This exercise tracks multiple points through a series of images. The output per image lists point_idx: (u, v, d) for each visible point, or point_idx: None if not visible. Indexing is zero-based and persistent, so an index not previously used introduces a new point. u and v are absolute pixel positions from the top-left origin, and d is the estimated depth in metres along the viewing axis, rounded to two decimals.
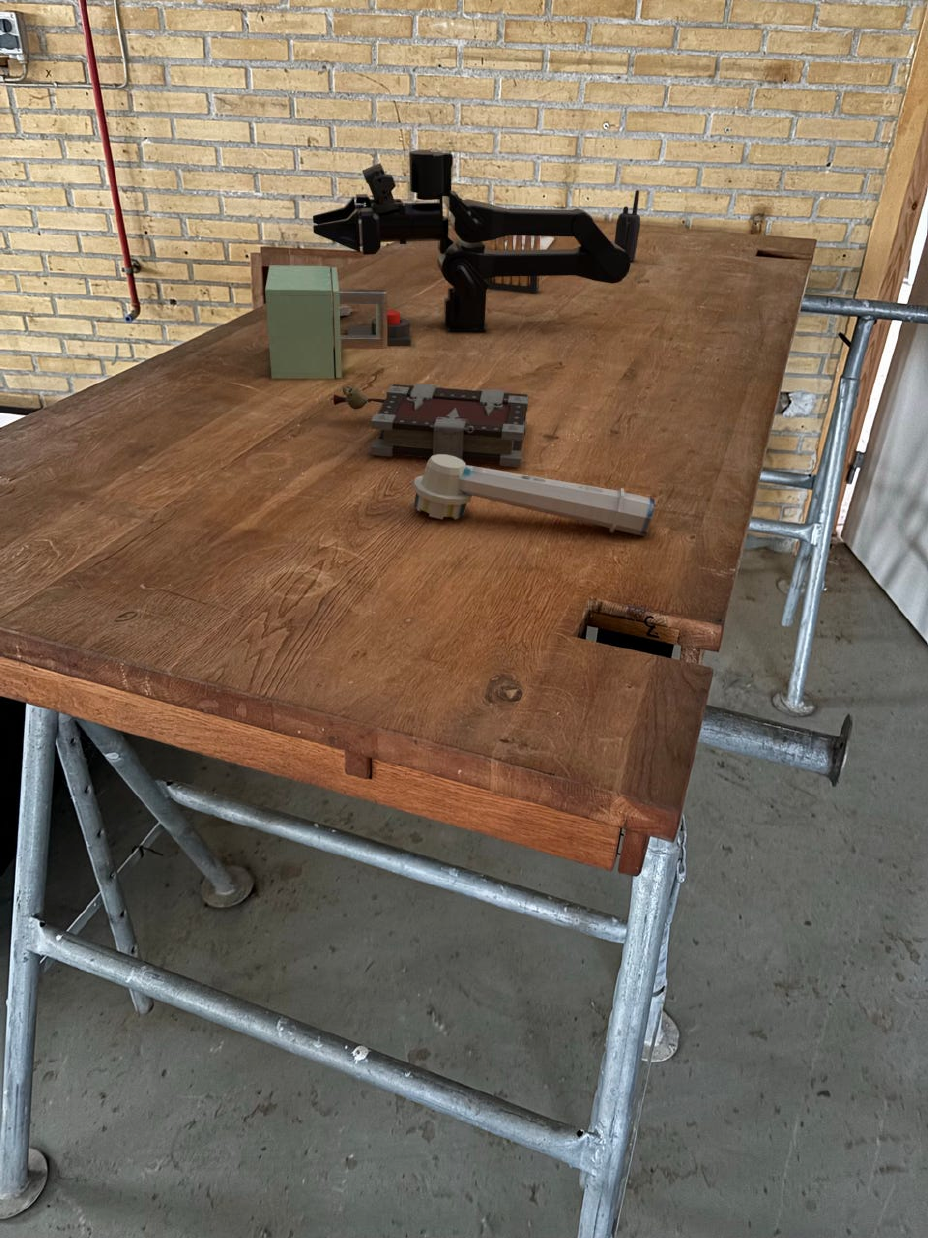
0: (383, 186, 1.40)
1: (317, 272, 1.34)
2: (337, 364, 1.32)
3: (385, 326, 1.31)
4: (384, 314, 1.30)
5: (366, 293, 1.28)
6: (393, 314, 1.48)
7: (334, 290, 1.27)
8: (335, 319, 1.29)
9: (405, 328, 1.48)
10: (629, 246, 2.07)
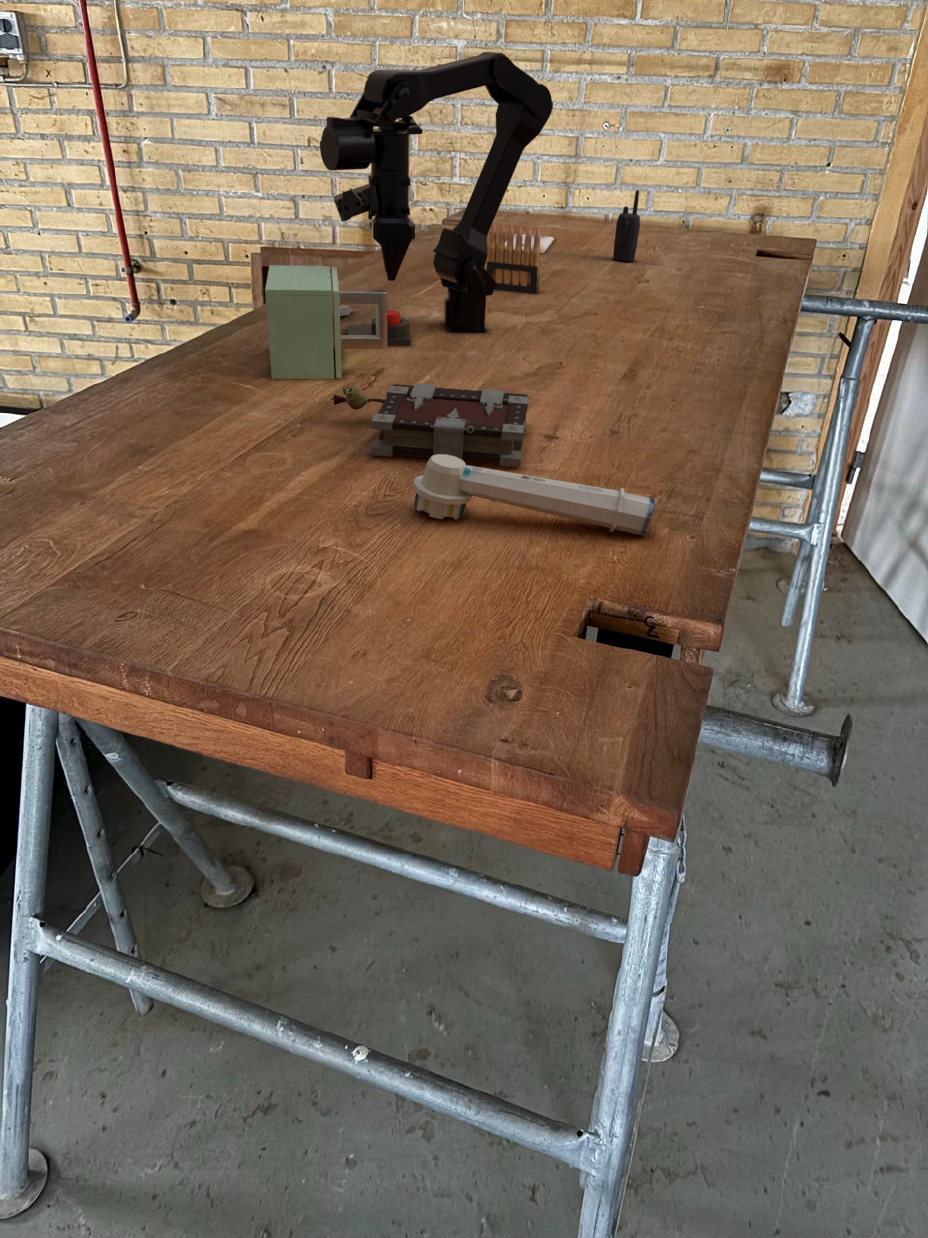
0: (352, 203, 1.35)
1: (317, 272, 1.34)
2: (337, 364, 1.32)
3: (385, 326, 1.31)
4: (384, 314, 1.30)
5: (366, 293, 1.28)
6: (393, 314, 1.48)
7: (334, 290, 1.27)
8: (335, 319, 1.29)
9: (405, 328, 1.48)
10: (629, 246, 2.07)
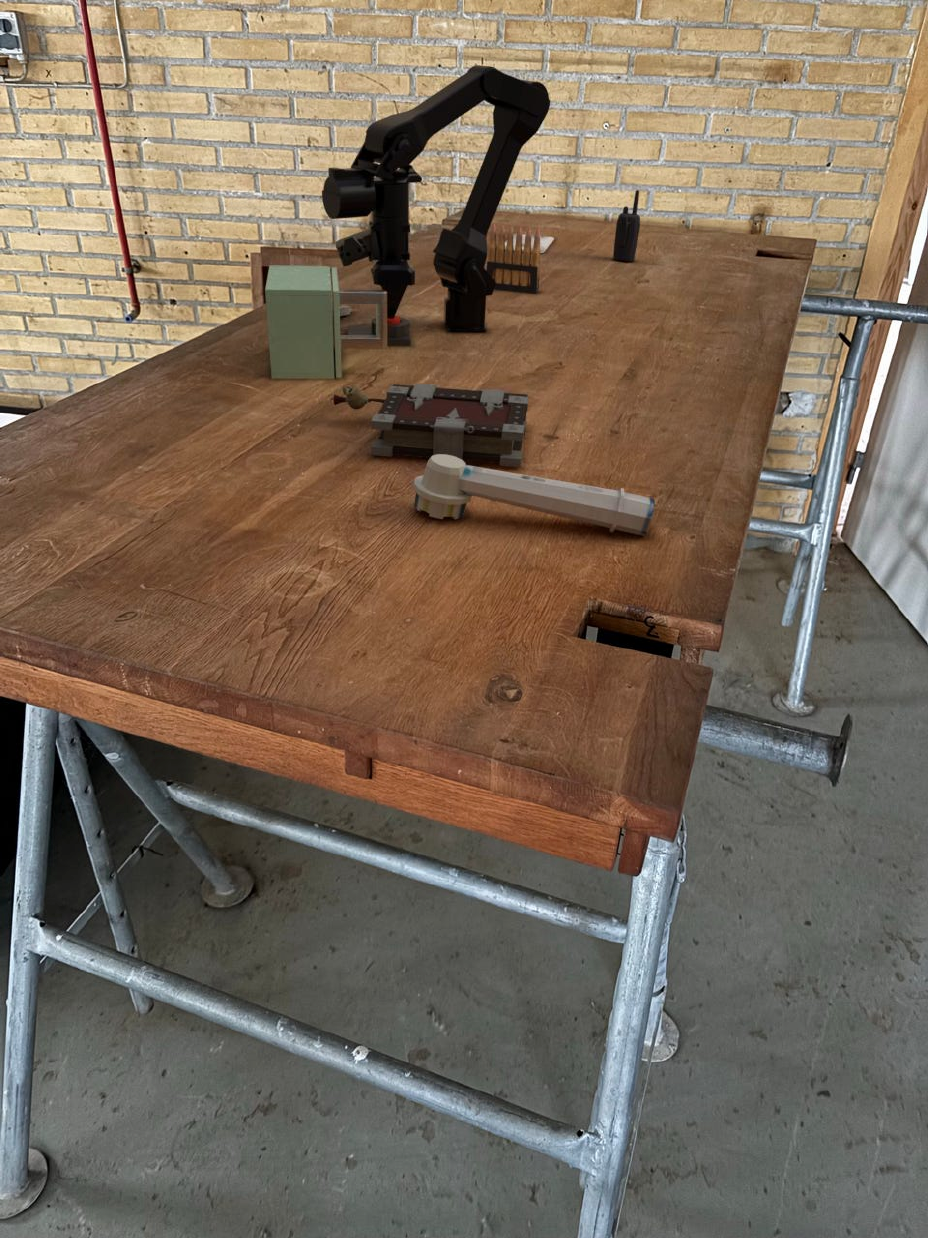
0: (353, 250, 1.38)
1: (317, 272, 1.34)
2: (337, 364, 1.32)
3: (385, 326, 1.31)
4: (384, 314, 1.30)
5: (366, 293, 1.28)
6: (393, 319, 1.48)
7: (334, 290, 1.27)
8: (335, 319, 1.29)
9: (405, 328, 1.48)
10: (629, 246, 2.07)
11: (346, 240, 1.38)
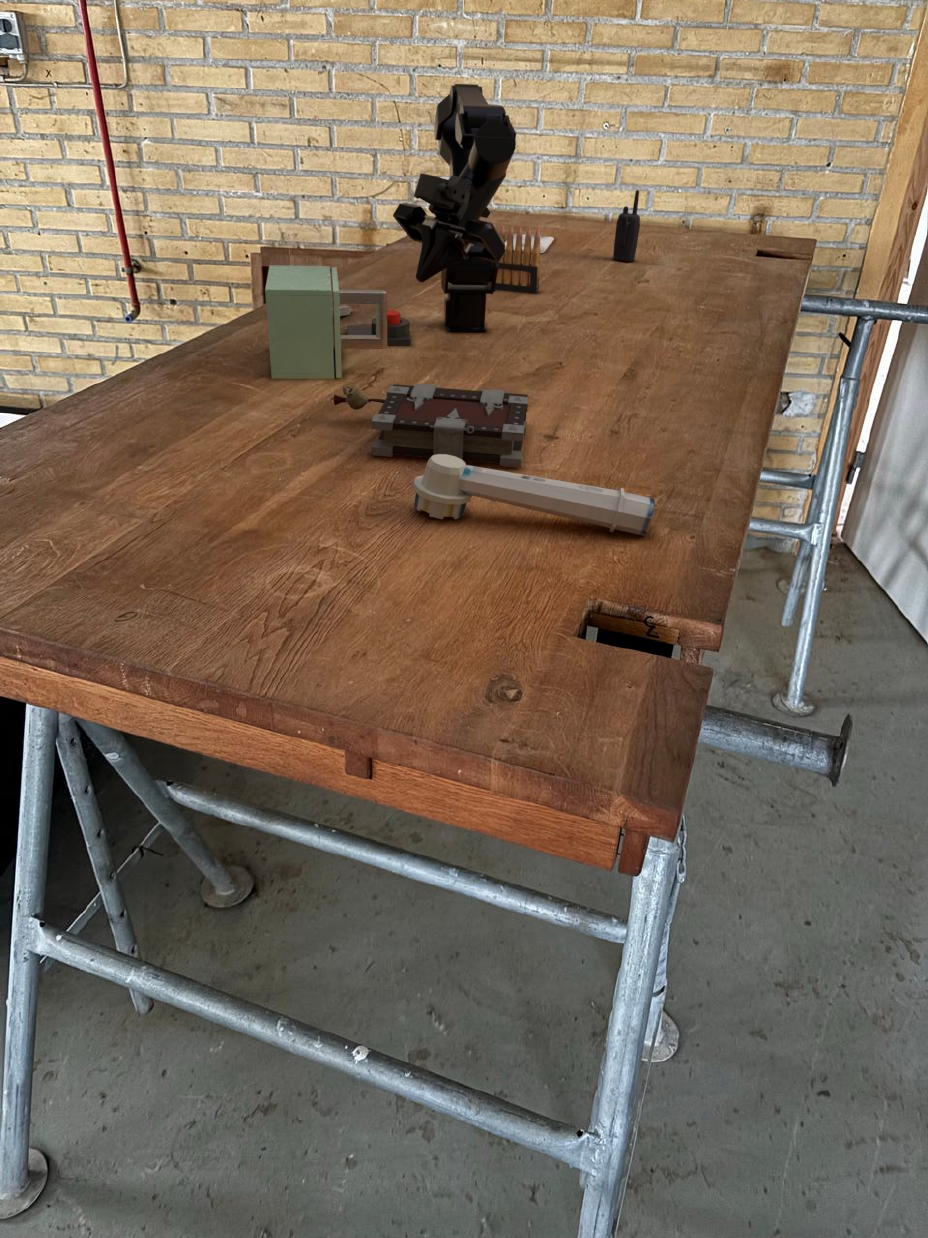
0: (460, 192, 1.27)
1: (317, 272, 1.34)
2: (337, 364, 1.32)
3: (385, 326, 1.31)
4: (384, 314, 1.30)
5: (366, 293, 1.28)
6: (393, 314, 1.48)
7: (334, 290, 1.27)
8: (335, 319, 1.29)
9: (405, 328, 1.48)
10: (629, 246, 2.07)
11: (461, 179, 1.26)
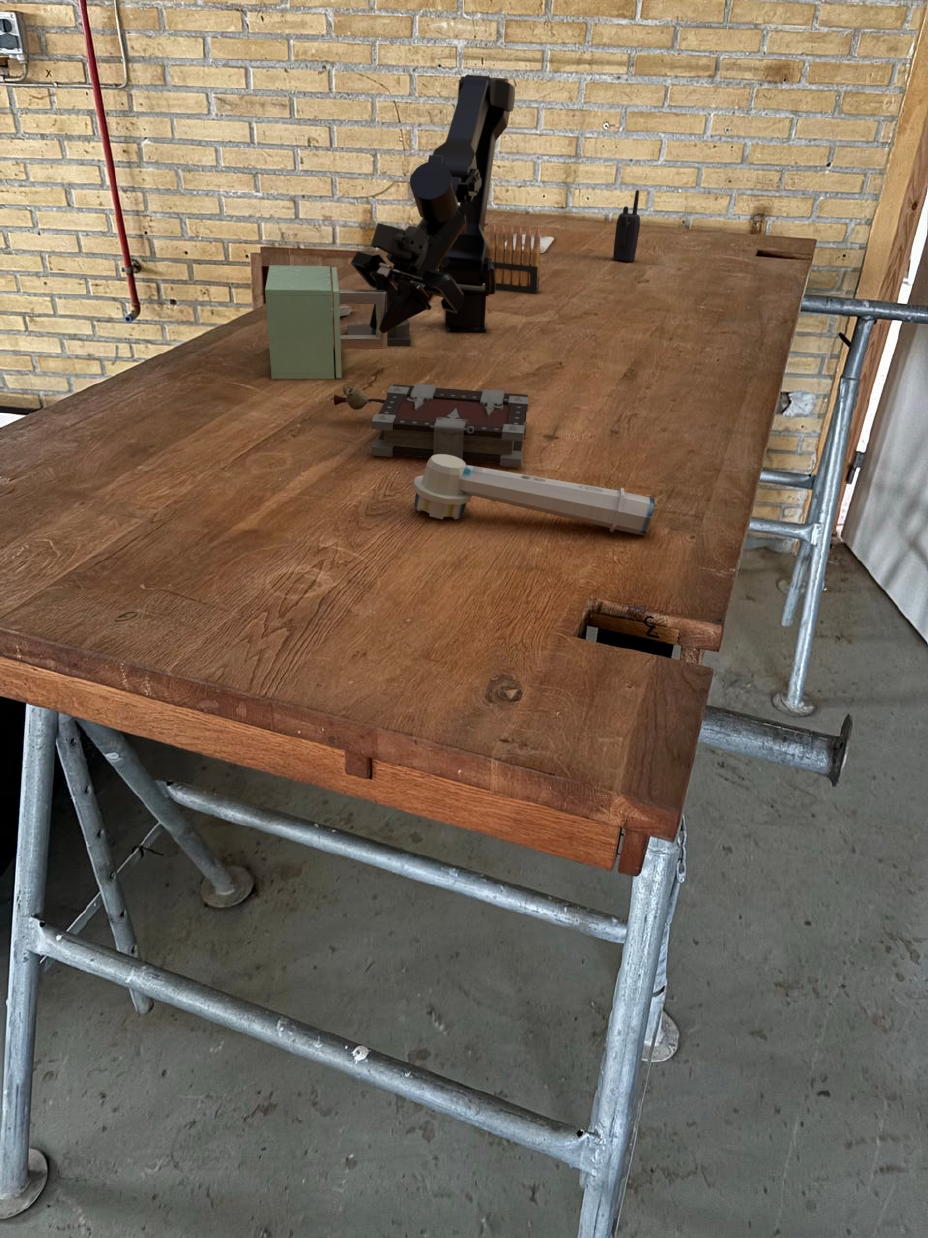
0: (417, 243, 1.25)
1: (317, 272, 1.34)
2: (337, 364, 1.32)
3: None
4: (384, 314, 1.30)
5: (366, 293, 1.28)
6: None
7: (334, 290, 1.27)
8: (335, 319, 1.29)
9: (405, 328, 1.48)
10: (629, 246, 2.07)
11: (419, 229, 1.24)
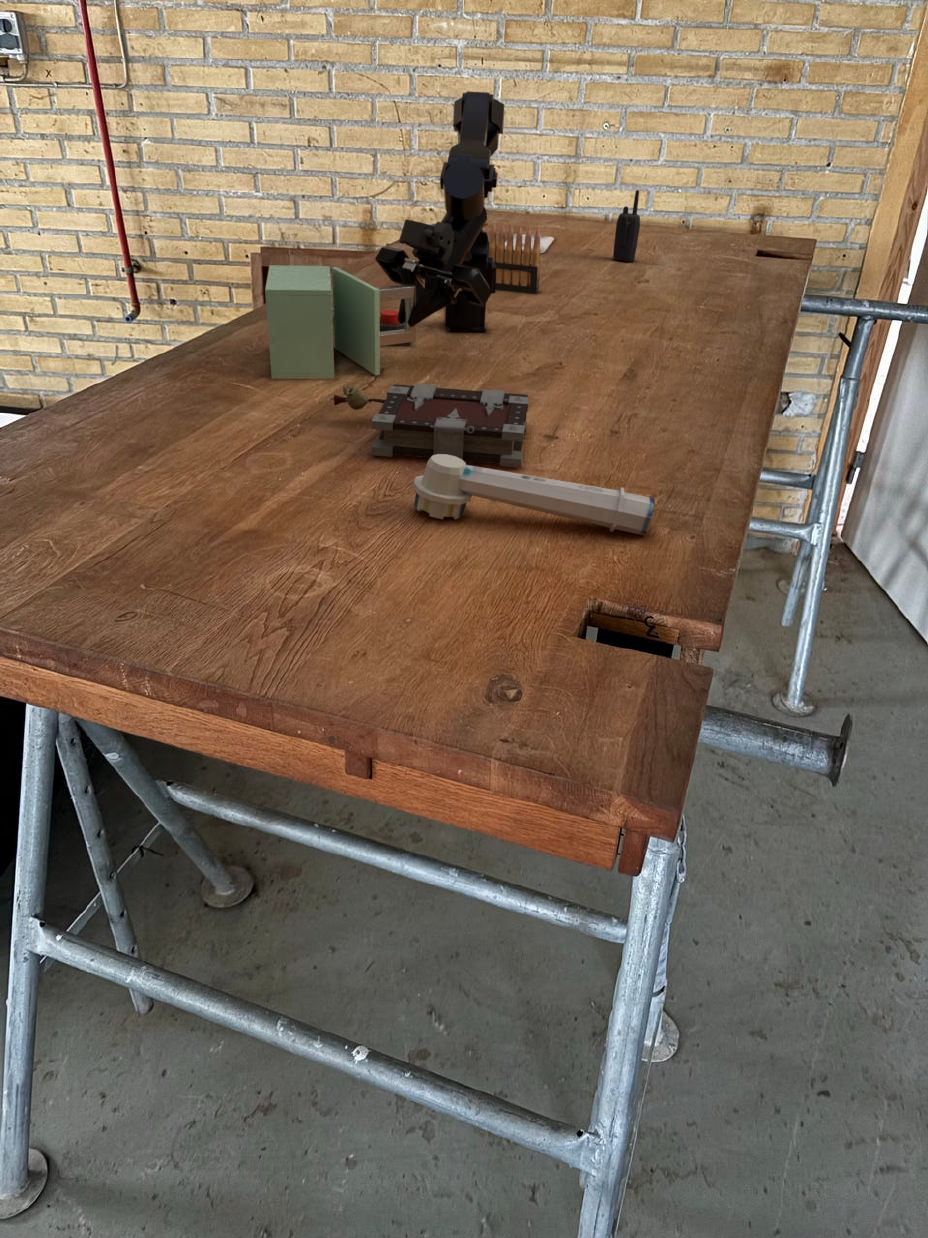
0: (446, 238, 1.28)
1: (317, 272, 1.34)
2: (376, 362, 1.34)
3: None
4: None
5: (399, 289, 1.31)
6: (393, 314, 1.48)
7: (374, 289, 1.28)
8: (375, 317, 1.30)
9: None
10: (629, 246, 2.07)
11: (447, 225, 1.28)
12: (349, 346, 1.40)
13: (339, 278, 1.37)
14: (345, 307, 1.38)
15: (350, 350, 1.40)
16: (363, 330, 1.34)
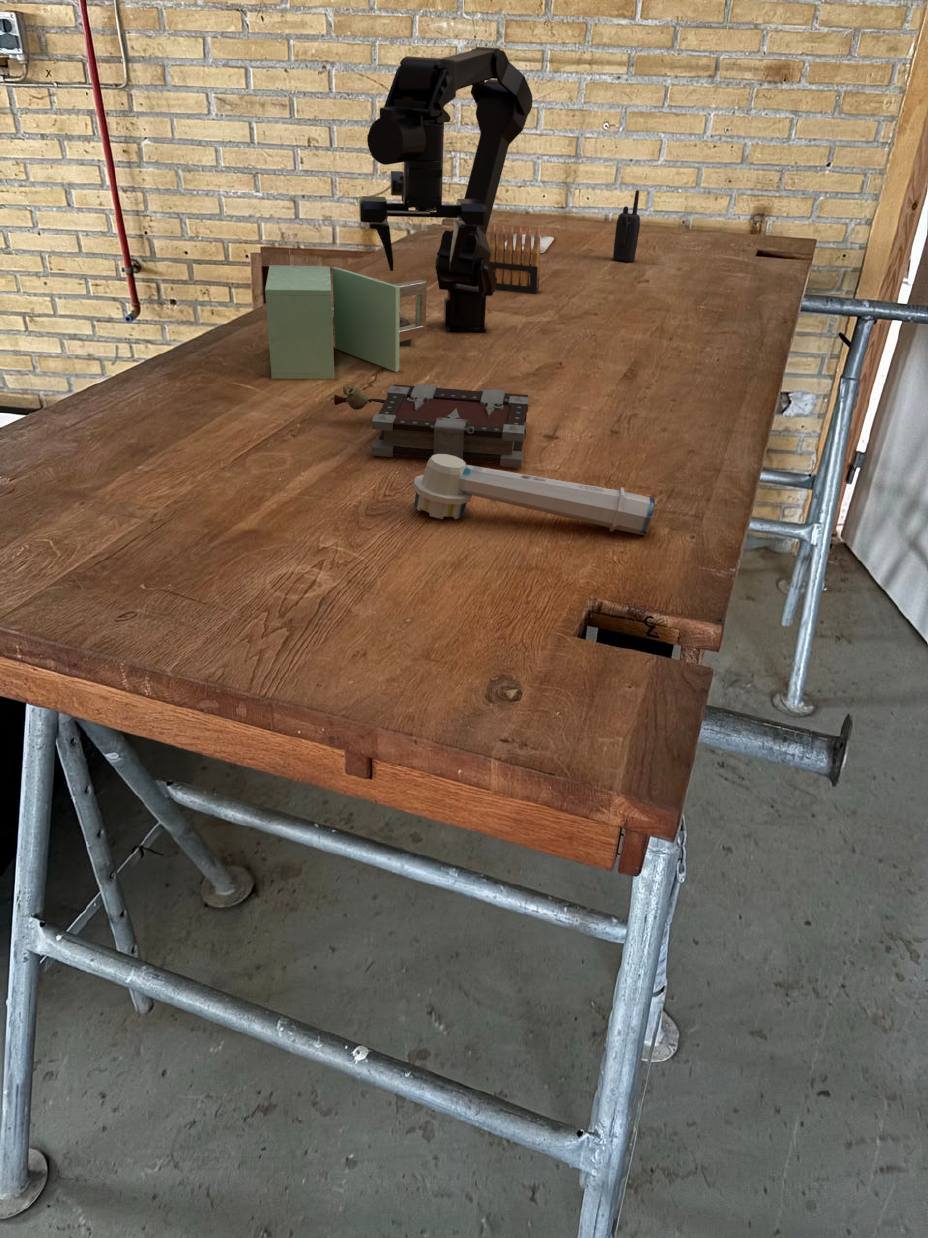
0: (391, 184, 1.39)
1: (317, 272, 1.34)
2: (396, 358, 1.36)
3: (425, 313, 1.38)
4: None
5: (414, 284, 1.34)
6: None
7: (394, 286, 1.30)
8: (396, 314, 1.32)
9: None
10: (629, 246, 2.07)
11: None
12: (357, 345, 1.41)
13: (343, 278, 1.37)
14: (352, 306, 1.38)
15: (359, 349, 1.41)
16: (378, 328, 1.36)
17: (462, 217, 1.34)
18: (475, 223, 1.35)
